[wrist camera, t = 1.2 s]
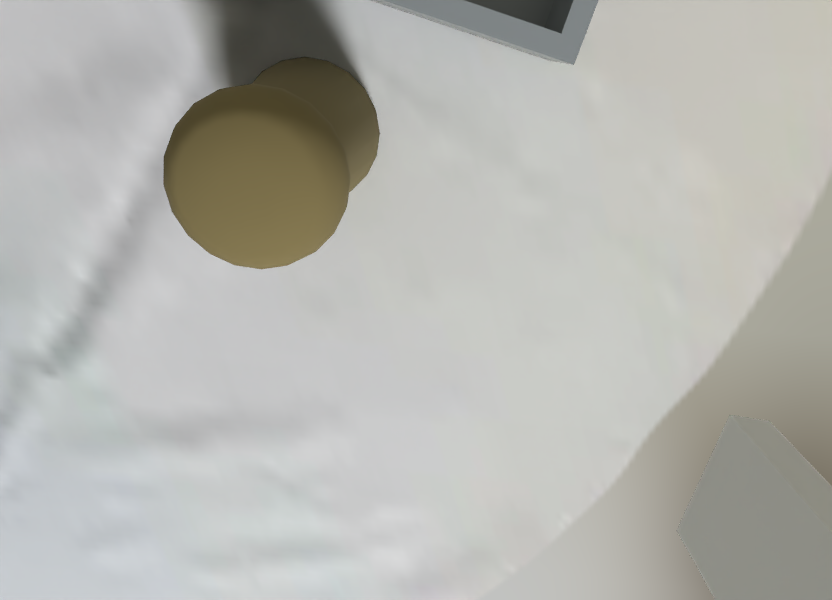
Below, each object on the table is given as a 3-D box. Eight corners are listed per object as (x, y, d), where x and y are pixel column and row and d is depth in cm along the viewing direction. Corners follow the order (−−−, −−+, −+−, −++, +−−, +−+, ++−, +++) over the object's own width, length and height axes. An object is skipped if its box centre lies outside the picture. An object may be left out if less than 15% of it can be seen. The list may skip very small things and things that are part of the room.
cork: (380, 202, 27) (362, 300, 17) (245, 201, 27) (148, 298, 17) (378, 57, 25) (356, 71, 15) (230, 56, 25) (106, 69, 15)
